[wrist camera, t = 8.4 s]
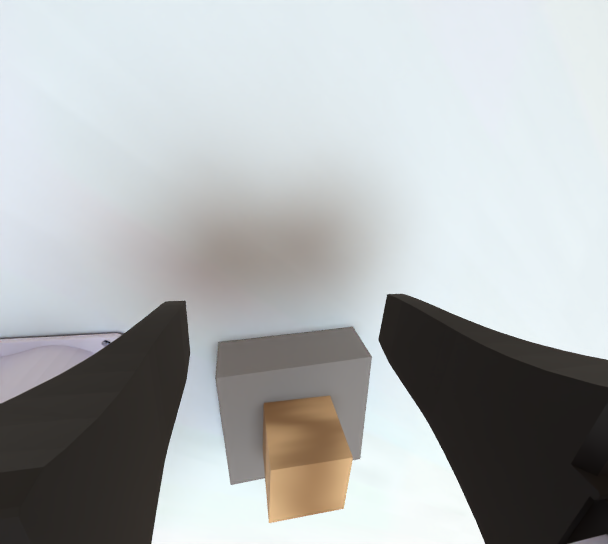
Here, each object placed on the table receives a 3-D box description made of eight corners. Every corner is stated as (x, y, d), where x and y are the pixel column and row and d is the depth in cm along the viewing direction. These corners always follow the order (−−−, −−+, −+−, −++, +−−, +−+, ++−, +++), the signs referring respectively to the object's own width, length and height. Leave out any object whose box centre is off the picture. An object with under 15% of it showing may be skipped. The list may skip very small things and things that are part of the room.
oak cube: (262, 450, 21) (268, 522, 17) (263, 402, 20) (270, 470, 16) (324, 442, 22) (343, 508, 18) (329, 395, 21) (352, 457, 17)
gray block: (231, 437, 26) (230, 485, 22) (218, 339, 22) (215, 378, 18) (343, 417, 28) (360, 458, 24) (351, 324, 24) (371, 356, 20)
